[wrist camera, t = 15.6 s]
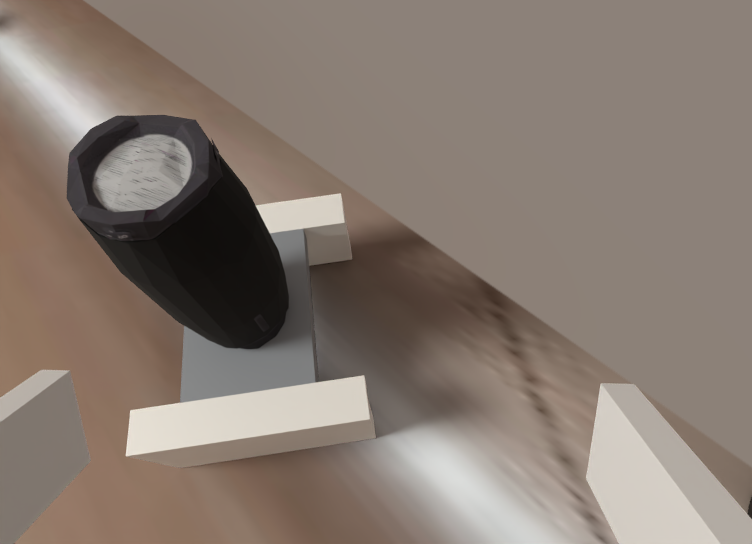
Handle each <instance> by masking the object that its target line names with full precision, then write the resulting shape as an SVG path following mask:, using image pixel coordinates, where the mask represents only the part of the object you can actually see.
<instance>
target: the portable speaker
mask: <svg viewBox="0 0 752 544" xmlns="http://www.w3.org/2000/svg"><path fill="white" fill-rule="evenodd" d="M211 139H212V138H211ZM212 143H213V145H212ZM212 143H211V142H210V140H209V139H208V137H207V136H206V135H205V133H204V132H203V130H202V129H201V127H200V126H199V124H198V123H197V121H196V120H192V119H185V118H179V117H173V116H167V115H143V116H115V117H113V118H111V119H109V120H107V121H105V122H103V123H102V124H100V125H98V126H96V127H94V128H92V129H90V131H89V132H88V133H87V134H86V135H85V136H84V137H83V138H82V140H81V141H80V142H79V143H78V144H77V145H76V146H75V147H74V149H73V150H72V151H71V152H70V154H69V163H68V180H67V200H68V201H69V203H70V205H71V207H72V210H73V211H74V213H75V214H76V215H77V217H78V218H79V219H80V221H81V222H82V223H83V225H84V226H85V227H86V228H87V230H88V231H89V232H90V233H91V235H92V236H93V237H94V239H95V240H96V241H97V242H98V244H99V245H100V246H101V248H102V249H103V250H104V251H105V253H106V254H107V255H108V256H109V258H110V259H111V260H112V262H113V263H114V264H115V265H116V267H117V268H118V269H119V271H120V272H121V273H122V274H123V275H125V276H126V277H127V278H128V279H129V280H130V281H131V282H133V283H134V284H135V285H136V286H137V287H138V288H140V289H141V290H142V291H143V292H144V293H145V294H146V295H148V296H149V297H150V298H151V299H152V300H153V301H155V302H156V303H157V304H158V305H159V306H160V307H161V308H163V309H164V310H165V311H166V312H167V313H168V314H170V315H171V316H172V317H173V318H174V319H175V320H177V321H178V322H179V323H181V324H183V325H184V326H186V327H187V328H189V329H191V330H192V331H194V332H196V333H197V334H199V335H201V336H202V337H204V338H206V339H207V340H209V341H211V342H214V343H216V344H218V345H221V346H223V347H225V348H235V349H238V348H242V349H257V348H260V347H261V346H263V345H264V344H266V343H267V342H268V341H270V340H271V339H273V338H274V337H276V336H277V334H278V333H279V331H280V329H281V328H282V326H283V324H284V323H285V318H286V312H287V310H288V309H289V293H288V287H287V282H286V276H285V271H284V268H283V264H282V261H281V257H280V254H279V250H278V248H277V246H276V245H275V243H274V241H273V239H272V237H271V235H270V233H269V231H268V229H267V227H266V225H265V223H264V221H263V219H262V217H261V215H260V213H259V211H258V209H257V207H256V206H255V204H254V202H253V200H252V198H251V196H250V194H249V192H248V190H247V188H246V187H245V186H244V184H243V183H242V182H241V181H240V179H239V178H238V177H237V176H236V174H235V173H234V172H233V171H232V169H231V168H230V167H229V166H228V164H227V163H226V162H225V161H224V159H223V158H222V157H221V156H220V154H219V151H218V149H217V147H216V146H215V144H214V142H213V140H212Z"/></svg>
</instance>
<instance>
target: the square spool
mask: <svg viewBox="0 0 752 544" xmlns="http://www.w3.org/2000/svg"><path fill="white" fill-rule="evenodd" d="M256 207H257V209H258V211H259V213H260V215H261V217H262V219H263V221H264V223H265V225H266V227H267V229H268V231H269V233H270V235H271V237H272V239H273V241H274V243H275V245H276V246H277V248H278V250H279V254H280V257H281V261H282V264H283V268H284V271H285V276H286V282H287V287H288V293H289V309H288V310H287V312H286V318H285V323H284V324H283V326H282V328H281V329H280V331H279V333H278V334H277V336H276V337H274V338H273V339H271V340H270V341H268V342H267V343H266V344H264V345H263V346H261V347H260V348H257V349H242V348H238V349H235V348H225V347H223V346H221V345H218V344H216V343H214V342H211V341H209V340H207V339H206V338H204V337H202V336H201V335H199V334H197V333H196V332H194V331H192V330H191V329H189V328H187V327H186V326H184V341H183V359H182V378H181V396H180V403H176V404H170V405H163V406H156V407H150V408H143V409H136V410H131V411H130V420H129V430H128V440H127V450H126V456H127V457H131V458H136V459H140V460H145V461H149V462H154V463H159V464H163V465H168V466H172V467H177V468H184V467H191V466H198V465H204V464H211V463H217V462H224V461H230V460H237V459H243V458H250V457H256V456H263V455H270V454H276V453H283V452H289V451H296V450H302V449H309V448H315V447H322V446H328V445H335V444H341V443H348V442H355V441H361V440H368V439H374V438H376V433H375V426H374V418H373V414H372V411H371V407H370V404H369V400H368V394H367V386H366V380H365V376H364V375H363V376H356V377H349V378H343V379H336V380H330V381H323V382H319V379H318V367H317V355H316V343H315V331H314V319H313V306H312V294H311V282H310V270H309V266H311V265H318V264H325V263H332V262H338V261H345V260H352V252H351V244H350V239H349V234H348V228H347V223H346V218H345V213H344V207H343V202H342V197H341V193H340V194H333V195H326V196H319V197H312V198H305V199H298V200H291V201H284V202H277V203H270V204H263V205H256Z"/></svg>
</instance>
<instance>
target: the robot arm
mask: <svg viewBox="0 0 752 544" xmlns="http://www.w3.org/2000/svg"><path fill="white" fill-rule="evenodd" d="M90 461H91V460H90V455H89V451H88V447H87V442H86V438H85V434H84V429H83V425H82V421H81V416H80V412H79V408H78V403H77V399H76V394H75V390H74V386H73V381H72V377H71V373H70V371H66V370H40V371H39V372H37V373H36V374H34V375H33V376H31V377H30V378H29V379H27V380H26V381H24V382H23V383H21V384H20V385H18V386H17V387H15V388H14V389H12V390H11V391H9V392H8V393H6V394H5V395H4V396H2V397H1V398H0V544H14V543H15V542H16V541H17V540H18V539H19V538H20V536H21V535H22V534H23V533H24V532H25V531H26V530H27V529H28V528H29V527H30V526H31V525H32V524H33V523H34V521H35V520H36V519H37V518H38V517H39V516H40V515H41V514H42V513H43V512H44V511H45V510H46V509H47V507H48V506H49V505H50V504H51V503H52V502H53V501H54V500H55V499H56V498H57V497H58V496H59V495H60V493H61V492H62V491H63V490H64V489H65V488H66V487H67V486H68V485H69V484H70V483H71V482H72V481H73V480H74V478H75V477H76V476H77V475H78V474H79V473H80V472H81V471H82V470H83V469H84V468H85V467H86V466H87V464H88V463H89V462H90ZM586 479H587V481H588V483H589V485H590V487H591V489H592V491H593V493H594V495H595V497H596V499H597V501H598V503H599V505H600V507H601V509H602V511H603V513H604V515H605V517H606V519H607V521H608V523H609V525H610V527H611V529H612V531H613V533H614V535H615V537H616V539H617V541H618V543H619V544H752V498H751V501H750V504H749V509H748V514H747V513H746V512H745V511H744V510H743V509H742V507H741V506H740V505H739V504H738V503H737V502H736V500H735V499H734V498H733V497H732V496H731V495H730V494H729V492H728V491H727V490H726V489H725V488H724V487H723V486H722V484H721V483H720V482H719V481H718V480H717V479H716V478H715V476H714V475H713V474H712V473H711V472H710V471H709V469H708V468H707V467H706V466H705V465H704V464H703V463H702V461H701V460H700V459H699V458H698V457H697V456H696V455H695V453H694V452H693V451H692V450H691V449H690V448H689V446H688V445H687V444H686V443H685V442H684V441H683V440H682V438H681V437H680V436H679V435H678V434H677V433H676V432H675V430H674V429H673V428H672V427H671V426H670V425H669V424H668V422H667V421H666V420H665V419H664V418H663V417H662V415H661V414H660V413H659V412H658V411H657V410H656V409H655V407H654V406H653V405H652V404H651V403H650V402H649V401H648V399H647V398H646V397H645V396H644V395H643V394H642V393H641V391H640V390H639V389H638V388H637V387H636V386H635V384H611V383H601V385H600V392H599V398H598V405H597V411H596V418H595V424H594V431H593V437H592V444H591V450H590V457H589V463H588V470H587V476H586Z"/></svg>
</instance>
